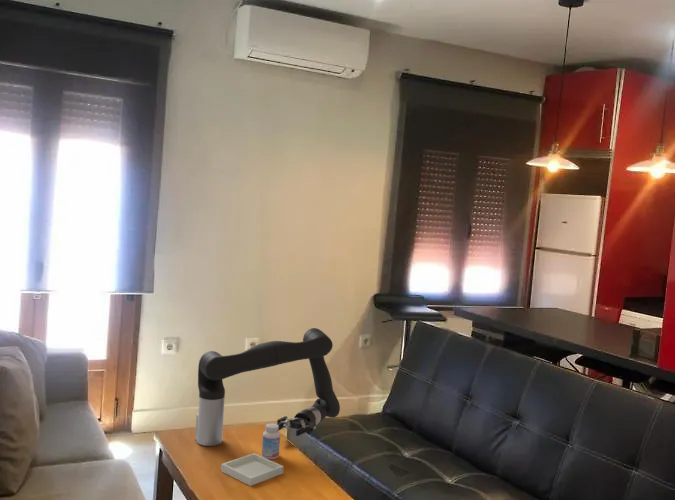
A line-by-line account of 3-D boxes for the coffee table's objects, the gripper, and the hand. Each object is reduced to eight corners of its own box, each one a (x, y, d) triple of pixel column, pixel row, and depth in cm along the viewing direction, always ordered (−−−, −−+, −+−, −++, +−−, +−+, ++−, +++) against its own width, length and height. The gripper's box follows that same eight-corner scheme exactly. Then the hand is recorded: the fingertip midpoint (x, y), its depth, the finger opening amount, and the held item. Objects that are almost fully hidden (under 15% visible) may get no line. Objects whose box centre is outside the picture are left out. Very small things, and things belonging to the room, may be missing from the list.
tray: (221, 471, 232) (221, 463, 232) (253, 459, 243) (254, 453, 243) (250, 485, 222) (250, 478, 222) (283, 473, 233) (283, 466, 233)
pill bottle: (276, 460, 244) (278, 429, 242) (259, 458, 245) (261, 427, 244) (280, 454, 250) (282, 424, 248) (264, 452, 251) (266, 421, 250)
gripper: (292, 405, 274) (270, 416, 259) (324, 413, 268) (304, 425, 253) (291, 424, 274) (269, 436, 260) (323, 432, 268) (303, 445, 254)
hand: (286, 430), depth 256 cm, fingers open, 8 cm apart
